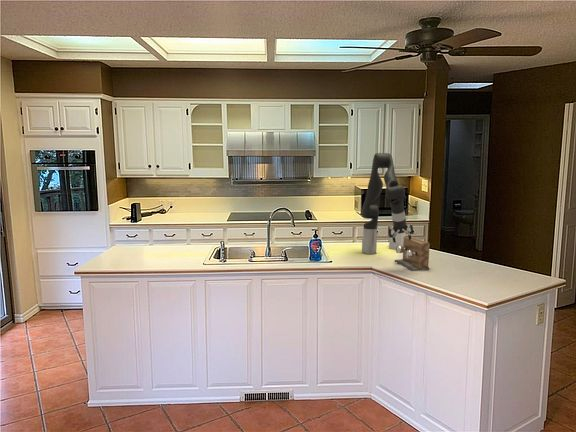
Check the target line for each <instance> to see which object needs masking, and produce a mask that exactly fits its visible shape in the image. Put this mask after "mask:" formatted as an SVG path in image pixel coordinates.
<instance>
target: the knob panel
mask: <svg viewBox="0 0 576 432" xmlns="http://www.w3.org/2000/svg"><path fill="white" fill-rule="evenodd" d="M430 245H431V244H430V242H428V241H425V240H423V239H419V238H417V237H414V236H411V239H410V241H409V238H408V236H405V237H404V242H403V248H407V250H412V251H413V253H417V255H413V257H412V258H406V256H405V252H406V251H407V250H403V253H402V258H401V259H394V262H395V263H396V262H397V264H399V265H401V266H402V267H403V268H406V269H408V270H409V271H412V272H416V271H417V272H418V270H419V271H429V270H430V267H429V262H430V248H431V247H430Z"/></svg>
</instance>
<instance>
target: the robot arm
mask: <svg viewBox="0 0 576 432" xmlns="http://www.w3.org/2000/svg"><path fill="white" fill-rule="evenodd" d="M393 159H394V158H393V156H392V154H391V153H389V152H388V153H387V152H383V153H382V152H377V153H375V154H374V155H373V160H372V166H371V172H370V176H369V177H370V178H369V181H368V185H367V190H366V194H365V198H364V202H363V205H362V207H361V217H362V218H363V219H370V220H369V221H368V222H365V223H364V224H363V237H362V239H361V240H362V241H361V254H365V255H375V254H377V240H378V226H379V225H378V223H379V213H380V212H379V210H380V209H379V206H378V205H377V204H372V203H373V202H374V201H375V200H376V199H378V198H379V197H380V195H381V194H382V190H383V186H384V184H385V197H386V199H387V200H390V201H391V203H390V208H391V219H392V227H390V226H388V228H387V229H388V236H389V237H390V238H391V237H392V238H393V242H395V243H396V241H395V236H396V235H397V234H398V233H399V234H400V233H404V232H405V234H407V235H408V236H407V237H408V238H409V241H410V239H411V237H412V235H413V234H415V231H414V226H413V224H412V223H409V224H407V218H406V213H405V206H404V199H405V195H406V189H405V187H404V186H403V185H399V180H398V179H397V176H396V172H395V166H394V160H393ZM379 169H387V170H386V171H385V173H384V175H383V180H382V178H381V176H380V175H379V172H378V171H379ZM383 181H384V182H383ZM408 228H409V230H408ZM392 230H394V233H393V234H391V231H392ZM389 237H388V238H389Z"/></svg>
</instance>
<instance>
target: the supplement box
mask: <svg viewBox="0 0 576 432" xmlns="http://www.w3.org/2000/svg"><path fill="white" fill-rule="evenodd" d="M393 233H394V230H392V231H391V234H393ZM404 237H406V233H405V232H404V233H400V234H399V233H398V234H397V235H396V236H395V241H396V243H395V242H393V238H392V237H391V238H390V237H388V239H389V240H388V241H389V242H388V249H389V250H395V251H396V246H402V247H403V242H404Z"/></svg>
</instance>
